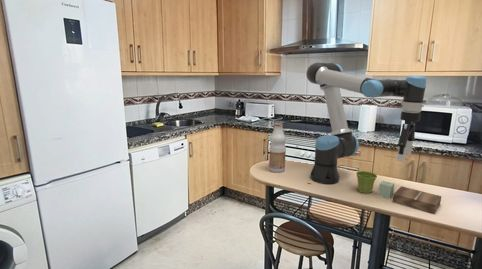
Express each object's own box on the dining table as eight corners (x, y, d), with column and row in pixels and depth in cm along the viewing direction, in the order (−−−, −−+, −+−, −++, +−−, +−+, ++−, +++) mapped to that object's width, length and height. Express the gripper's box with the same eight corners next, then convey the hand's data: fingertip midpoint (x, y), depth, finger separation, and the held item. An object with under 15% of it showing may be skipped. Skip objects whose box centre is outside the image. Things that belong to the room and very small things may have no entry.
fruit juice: (272, 173, 162) (273, 125, 156) (266, 168, 170) (267, 122, 164) (287, 172, 164) (289, 124, 158) (281, 167, 173) (282, 122, 167)
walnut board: (392, 201, 127) (393, 193, 126) (400, 193, 135) (401, 186, 134) (434, 214, 116) (436, 205, 115) (440, 204, 125) (441, 196, 124)
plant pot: (372, 188, 142) (374, 171, 140) (377, 196, 133) (379, 178, 131) (353, 186, 144) (354, 170, 142) (356, 194, 135) (357, 177, 133)
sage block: (378, 195, 134) (379, 183, 132) (381, 192, 137) (383, 180, 136) (389, 198, 130) (391, 186, 129) (393, 195, 134) (394, 183, 133)
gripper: (414, 115, 113) (406, 166, 118) (426, 109, 131) (418, 153, 136) (394, 113, 118) (387, 161, 123) (408, 108, 136) (401, 150, 141)
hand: (403, 157), depth 129 cm, fingers open, 13 cm apart
